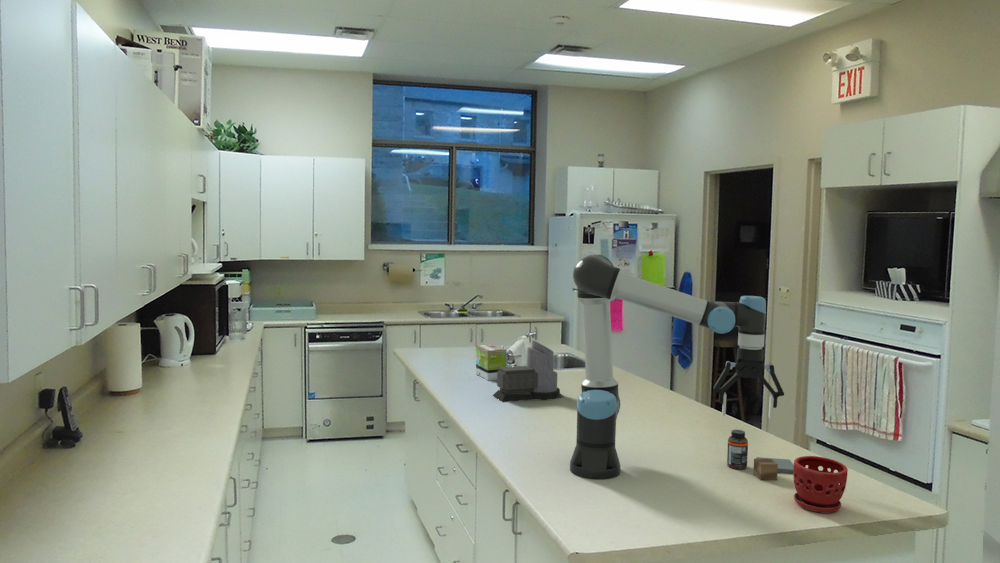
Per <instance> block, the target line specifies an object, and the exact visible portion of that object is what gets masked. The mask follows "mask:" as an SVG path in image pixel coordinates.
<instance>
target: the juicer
mask: <svg viewBox="0 0 1000 563" xmlns="http://www.w3.org/2000/svg"><path fill="white" fill-rule="evenodd" d="M526 354H527V355H526V357H527V358H526V365H521V366H506V367H501V368H499V371H497V380H496V386H497V387H498V388H499V389H498V390H497V391H496V392H494V394H492V397H493V396H494V397H493V398H495V399H497V400H498V399H499V400H498V401H500V402H501V401H502V402H501V403H508V401H510V402H520V401H519V400H523V401H532V400H531V399H541V400H540V401H548V400H547V399H552V400H557V399H561V398H563V397H562V396H563V394H562V393H561V390H560V388H559V387H558V372H557V371H555V370H554V351H553V350H552V349H551V348H548V347H547V346H545V345H543V344H541V343H539V342H538V341H535V340H534V339H533V340H531V347H530V346H528V347H527V351H526ZM556 398H557V399H556Z"/></svg>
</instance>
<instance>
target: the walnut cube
mask: <svg viewBox="0 0 1000 563" xmlns="http://www.w3.org/2000/svg"><path fill="white" fill-rule="evenodd" d="M777 470H778V464H777V463H776V462H774V461H773V460H772V459H757V458H753V476H755V478H757V480H759V481H778V472H777Z"/></svg>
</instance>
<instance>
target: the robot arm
mask: <svg viewBox="0 0 1000 563" xmlns="http://www.w3.org/2000/svg"><path fill="white" fill-rule="evenodd" d="M572 272H573V273H572V278H573V282H574V285H575V286H576V291H577V293H576V294H577V299H578V300H579V301H580V302H581V303H582V319H583V322H582V324H583V340H584V342H583V343H584V345H583V346H584V365H585V366H584V367H585V377H584V379H583V381H581V393H580V394H579V395H578V397H577V402H576V409H577V410H576V412H577V414H576V441H575V442H576V444H575V447H574V450H573V453H572V456H571V459H570V461H569V462H570V463H569V470H570V472H571V473H572V474H573V475H576V476H579V477H582V478H585V479H586V478H587V479H595V480H596V479H597V480H600V479H605V480H607V479H612V478H615V477H617V476H620V475H621V474H620V473H621V462H620V458H619V455H618V452H617V448H616V435H617V434H616V432H617V431H616V430H617V428H616V427H617V419H618V415H619V412H620V409H621V399H620V395H619V381H617V380H616V379H615V377H614V374H613V373H614V370H613V346H612V343H613V342H612V322H611V321H612V319H611V302H612V300H614V299H619V300H622V301H625V302H627V303H631V304H634V305H637V306H640V307H643V308H646V309H648V310H651V311H656V312H658V313H661V314H665V315H667V316H671V317H673V318H677V319H680V320H682V321H685V322H688V323H691V324H695V325H698V326H700V327H703V328H705V329H706V328H707V329H709V330H711V331H713V332H714V333H716V334H727V333H729V332H731V331H732V330H733V329H734V328H736V327H737V328H738V331H737V332H738V336H737V346H738V347H737V352H736V354H737V355H736V362H731V361H729V360H726V361H725V367H724V368H723V370H722V372H721V374H720V376H719V377H718V379H717V381H716V382H715V384H714V386H713V391H714V392H717V393H719V395H718V402H719V404H720V405H721V404H722V406H721V408H722V409H721V414H722V416H726V412H727V393H726V391H727V390H729V389H730V388H731V387H732V386H733V385H734V384H735V383H736V382H737V381H738V380H739V379H740V378H744V379H748V378H749V379H756V378H758V380H760V381H761V383H762V384H763V385H764V387H765V388H766V389H767V390H768V391H769V392H770V394H771V395H769V402H768V403H769V405H768V419H770V420H773V418H774V408H775V409H777V407H778V398H779V397H784V396H785V392H784V390H783V387H782V386H781V384H780V381H779V379H778V377H777V375H776V373H775V366H774V364H773V363H769V364H764V352H765V351H764V349H763V348H764V347H765V333H766V318H767V316H766V315H767V311H766V310H767V309H766V308H767V301H766V299H765V298H764V297H762V296H760V295H759V296H758V295H756V296H755V295H741V296H740V298H739V301H733V302H731V301H715V300H707V299H703V298H699V297H697V296H694V295H690V294H688V293H685V292H682V291H679V290H675V289H672V288H670V287H667V286H664V285H661V284H657V283H654V282H651V281H648V280H645V279H642V278H639V277H635V276H632V275H630V274H626V273H625V272H624V271H623V269H621V268H619V267H616V266H614V264H613V262H612V261H611V260H610V259H609V258H608V257H606V256H604V255H601V254H595V253H594V254H589V255H586V256H585V257H583V258H581V259H580V260H578V262H577V263H575V266H574V267H573V271H572ZM733 368H736V370H737V371H735V372H734V374H733V375H732V376H731V377H730V378H729V379H728V380H727V381H726V382H725V383H724V381H725V379H726V378H727V376H728V374H729V373H730V370H732V369H733ZM764 370H766V371H767V372H768V373H769V375H770V376H771V379H772V381H773V383H774V385H775V387H776V390H777V391H775V390H774V388H773V387H772V386H771V384H770V383H769V382H768V381H767V379H766V378H765V377H764V376H763V374H762V373H763V371H764ZM723 383H724V384H723Z"/></svg>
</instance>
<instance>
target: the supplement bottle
mask: <svg viewBox="0 0 1000 563" xmlns="http://www.w3.org/2000/svg"><path fill="white" fill-rule="evenodd" d="M730 432H731V435H730V436H729V437H728V438H727V454H726V455H727V456H726V457H727V459H726V461H727V462H726V465H727V467H729V468H730V469H733V470H745V469H746V468H747V467H748V452H749V450H748V449H749V440H748V439H747V438H746V431H745V430H742V429H732V430H731V431H730Z"/></svg>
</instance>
